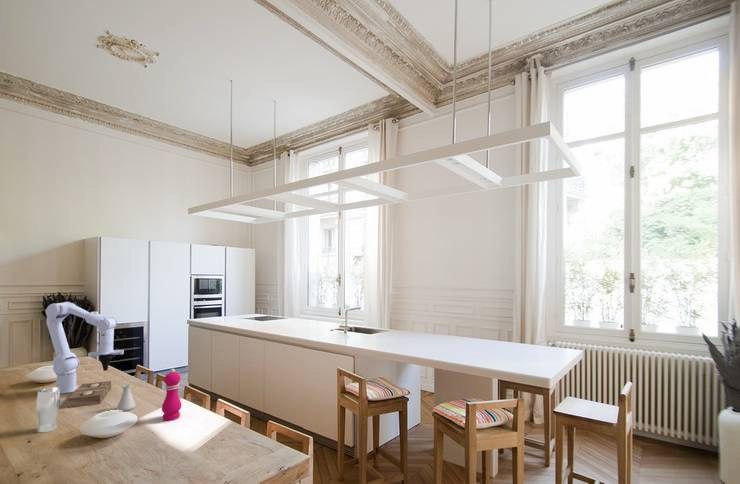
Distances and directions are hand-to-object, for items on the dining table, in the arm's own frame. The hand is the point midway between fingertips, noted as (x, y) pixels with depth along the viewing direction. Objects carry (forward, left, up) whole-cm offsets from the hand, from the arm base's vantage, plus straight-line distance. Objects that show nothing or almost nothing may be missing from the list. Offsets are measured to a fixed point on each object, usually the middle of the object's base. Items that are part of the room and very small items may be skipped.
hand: (105, 370), depth 189 cm
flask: (+30, +14, -11) cm, 35 cm away
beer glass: (+42, -10, -11) cm, 44 cm away
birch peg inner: (+2, -4, -10) cm, 11 cm away
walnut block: (+8, -4, -10) cm, 14 cm away
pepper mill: (+49, +33, -11) cm, 60 cm away
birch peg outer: (+14, -4, -10) cm, 18 cm away
